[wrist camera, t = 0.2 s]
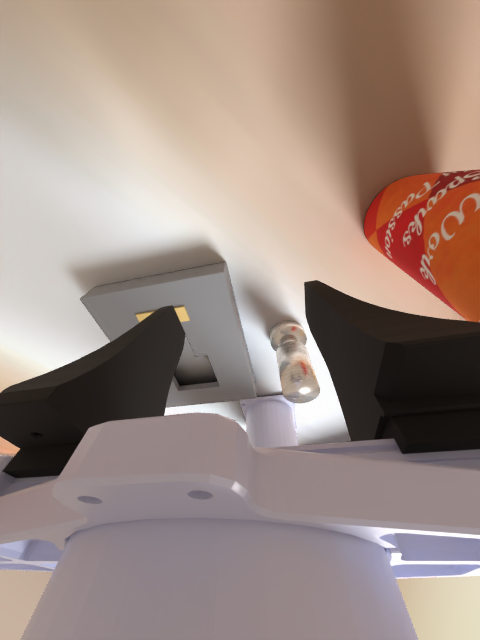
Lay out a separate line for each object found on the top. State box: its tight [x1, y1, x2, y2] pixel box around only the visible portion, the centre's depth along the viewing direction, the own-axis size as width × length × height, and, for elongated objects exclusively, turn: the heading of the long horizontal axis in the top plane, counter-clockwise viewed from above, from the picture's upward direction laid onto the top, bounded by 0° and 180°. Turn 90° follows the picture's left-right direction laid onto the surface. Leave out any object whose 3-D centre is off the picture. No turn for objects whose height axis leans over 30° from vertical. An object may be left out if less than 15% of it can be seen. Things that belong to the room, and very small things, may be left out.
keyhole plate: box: [80, 262, 256, 408], centre depth 25 cm, size 18×14×3 cm
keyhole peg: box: [270, 321, 320, 403], centre depth 22 cm, size 4×4×8 cm
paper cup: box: [364, 170, 480, 322], centre depth 12 cm, size 8×8×14 cm
